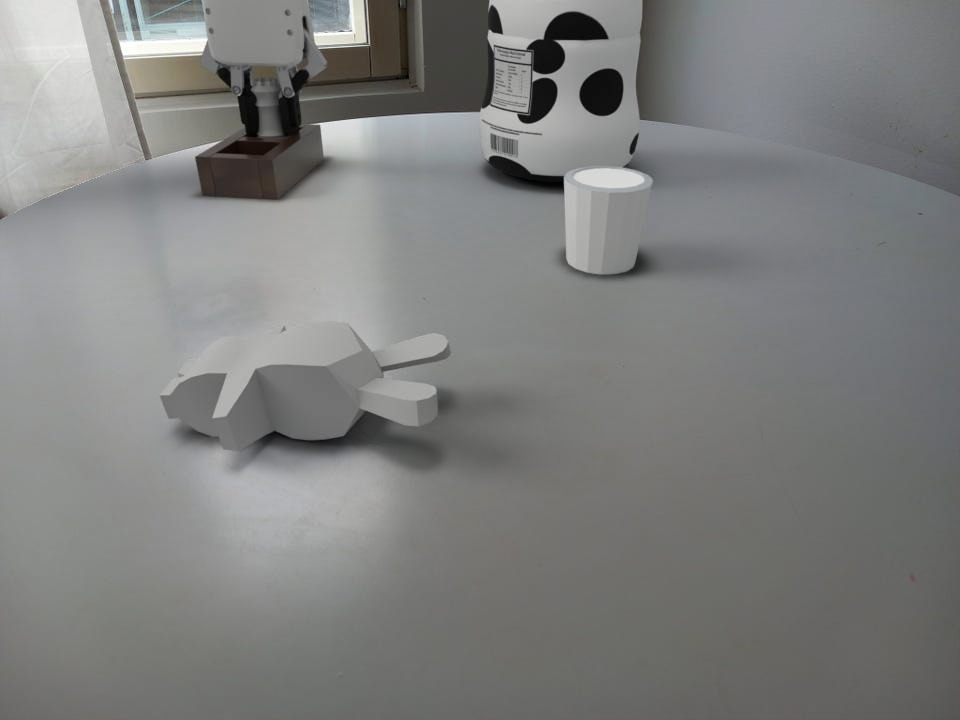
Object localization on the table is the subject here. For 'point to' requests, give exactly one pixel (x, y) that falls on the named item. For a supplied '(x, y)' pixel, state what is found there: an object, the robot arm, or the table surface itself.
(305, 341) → the bunny figurine
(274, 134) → the rook chess piece
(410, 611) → the table surface
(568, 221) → the shot glass
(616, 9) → the milk container
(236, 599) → the table surface
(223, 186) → the rack
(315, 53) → the robot arm
